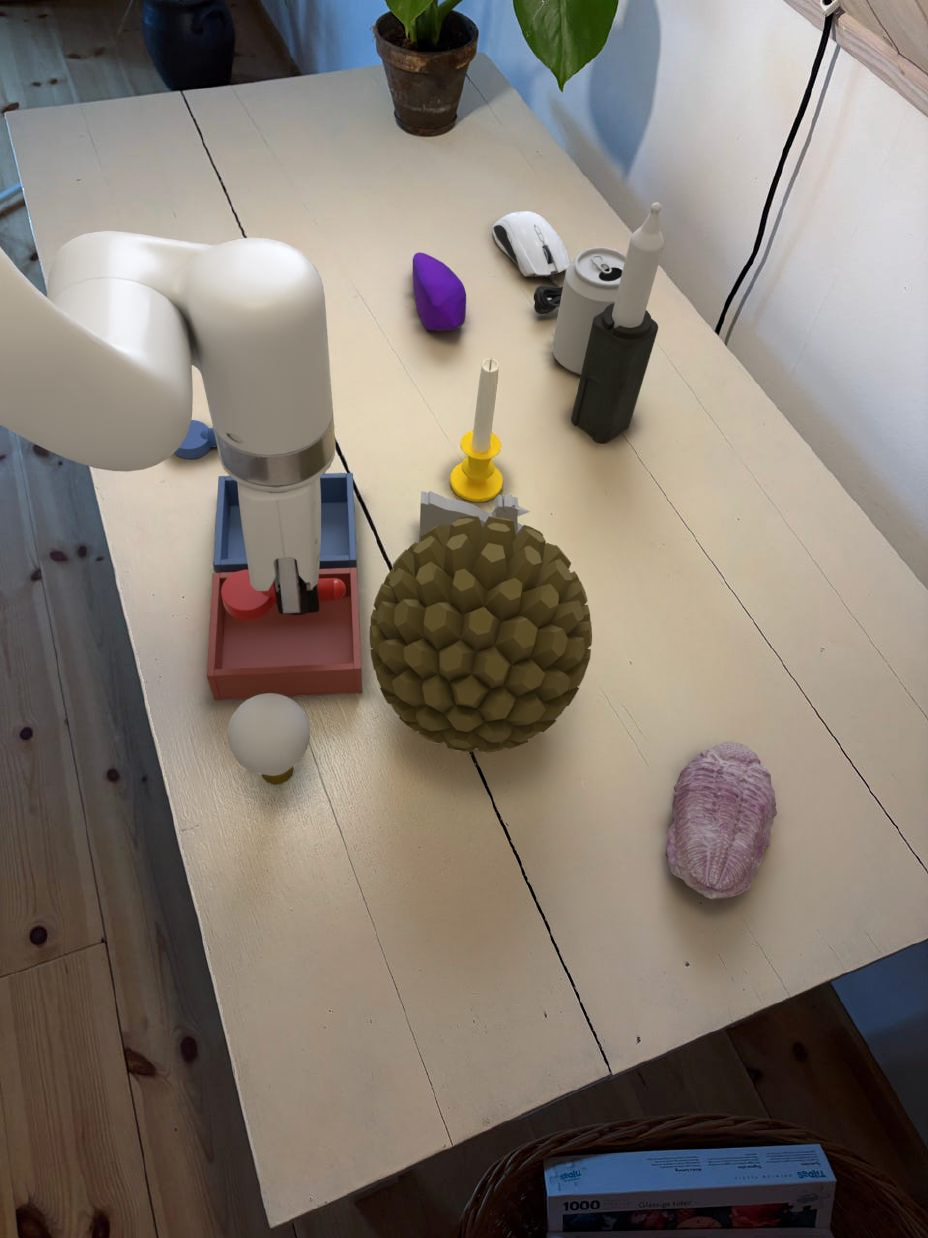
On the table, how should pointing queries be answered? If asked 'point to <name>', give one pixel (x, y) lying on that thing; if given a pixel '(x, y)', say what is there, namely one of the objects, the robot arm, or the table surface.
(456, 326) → the crystal
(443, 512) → the grey flat angular piece
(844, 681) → the table surface
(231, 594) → the red ping pong paddle
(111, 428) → the robot arm
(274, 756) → the light bulb
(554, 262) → the computer mouse
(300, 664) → the red bin
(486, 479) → the candle
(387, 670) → the decorative object
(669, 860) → the fossil
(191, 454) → the blue spoon
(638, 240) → the candle
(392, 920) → the table surface
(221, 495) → the blue bin
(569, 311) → the can
